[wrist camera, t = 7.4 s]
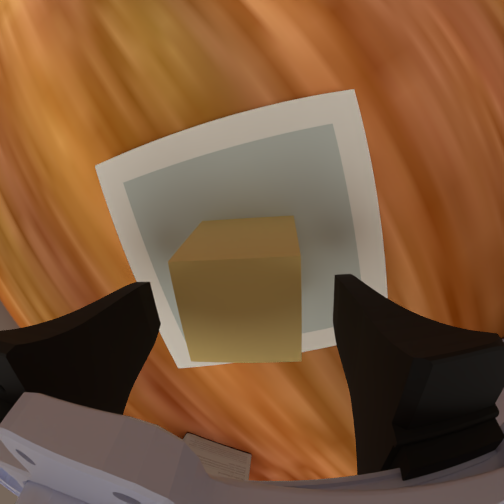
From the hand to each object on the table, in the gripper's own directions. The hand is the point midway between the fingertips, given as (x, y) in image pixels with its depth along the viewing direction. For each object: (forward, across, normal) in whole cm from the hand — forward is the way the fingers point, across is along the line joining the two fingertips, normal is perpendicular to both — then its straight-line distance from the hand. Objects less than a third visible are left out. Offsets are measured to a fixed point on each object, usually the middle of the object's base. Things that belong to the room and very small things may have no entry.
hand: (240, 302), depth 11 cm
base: (+7, 0, 0) cm, 7 cm away
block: (+5, 0, 0) cm, 5 cm away
